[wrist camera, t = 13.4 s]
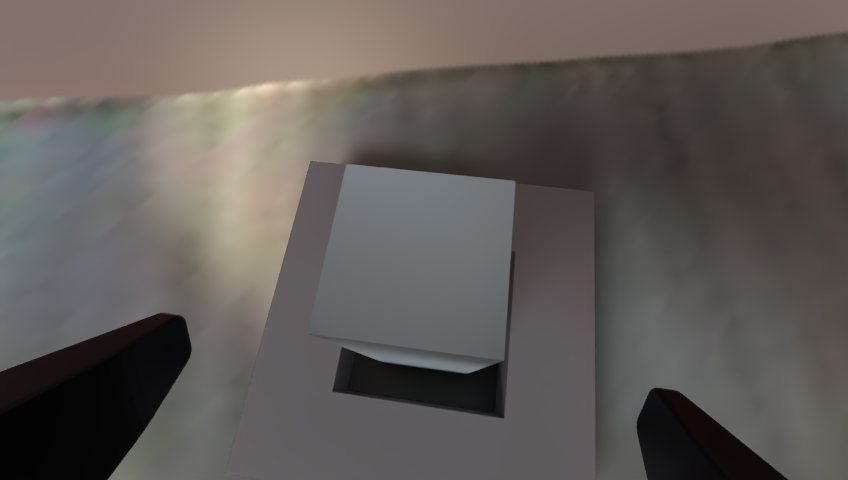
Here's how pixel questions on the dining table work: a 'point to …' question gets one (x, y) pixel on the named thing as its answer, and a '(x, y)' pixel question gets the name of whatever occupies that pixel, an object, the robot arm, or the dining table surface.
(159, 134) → the dining table surface
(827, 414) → the dining table surface
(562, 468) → the square socket base
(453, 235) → the slate block
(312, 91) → the dining table surface
